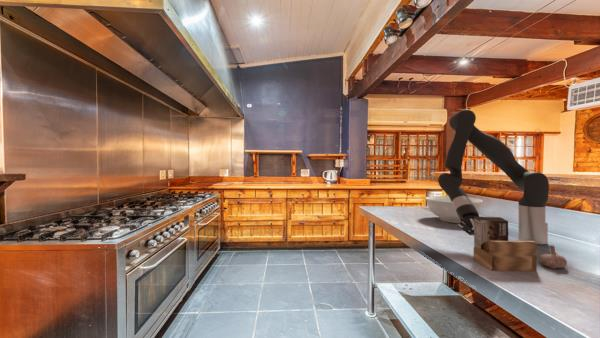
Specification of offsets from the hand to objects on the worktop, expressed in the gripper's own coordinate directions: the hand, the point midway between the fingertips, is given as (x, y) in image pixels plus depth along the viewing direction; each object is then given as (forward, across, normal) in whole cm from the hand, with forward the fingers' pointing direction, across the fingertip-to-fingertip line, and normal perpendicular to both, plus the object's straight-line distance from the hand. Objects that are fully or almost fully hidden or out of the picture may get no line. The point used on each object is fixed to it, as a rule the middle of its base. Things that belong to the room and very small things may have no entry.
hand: (484, 243), depth 96 cm
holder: (+10, 0, -3) cm, 10 cm away
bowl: (-41, +25, +48) cm, 68 cm away
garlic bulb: (+11, +17, -3) cm, 20 cm away
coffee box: (+6, 0, +1) cm, 6 cm away
